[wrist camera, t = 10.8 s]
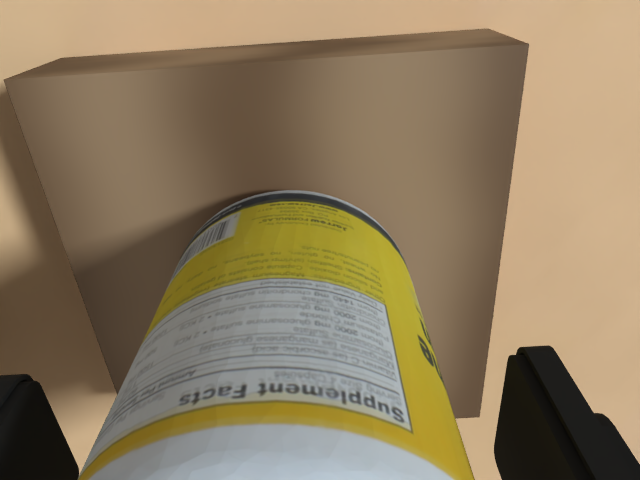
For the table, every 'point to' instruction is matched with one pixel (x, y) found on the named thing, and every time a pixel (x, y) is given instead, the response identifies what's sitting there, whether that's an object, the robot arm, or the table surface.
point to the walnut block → (283, 166)
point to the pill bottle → (284, 358)
